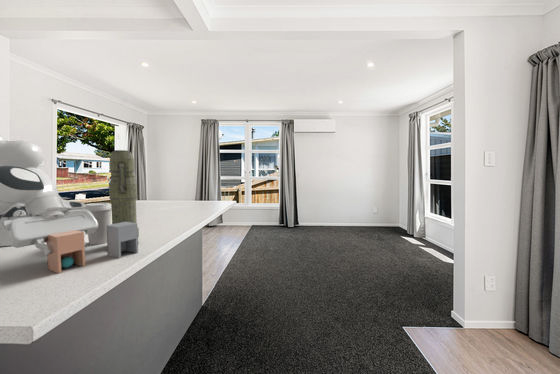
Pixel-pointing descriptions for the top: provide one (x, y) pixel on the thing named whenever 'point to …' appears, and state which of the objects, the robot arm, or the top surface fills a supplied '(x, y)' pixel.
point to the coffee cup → (99, 222)
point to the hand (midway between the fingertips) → (67, 249)
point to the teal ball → (67, 262)
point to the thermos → (122, 187)
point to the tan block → (66, 249)
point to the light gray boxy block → (122, 238)
